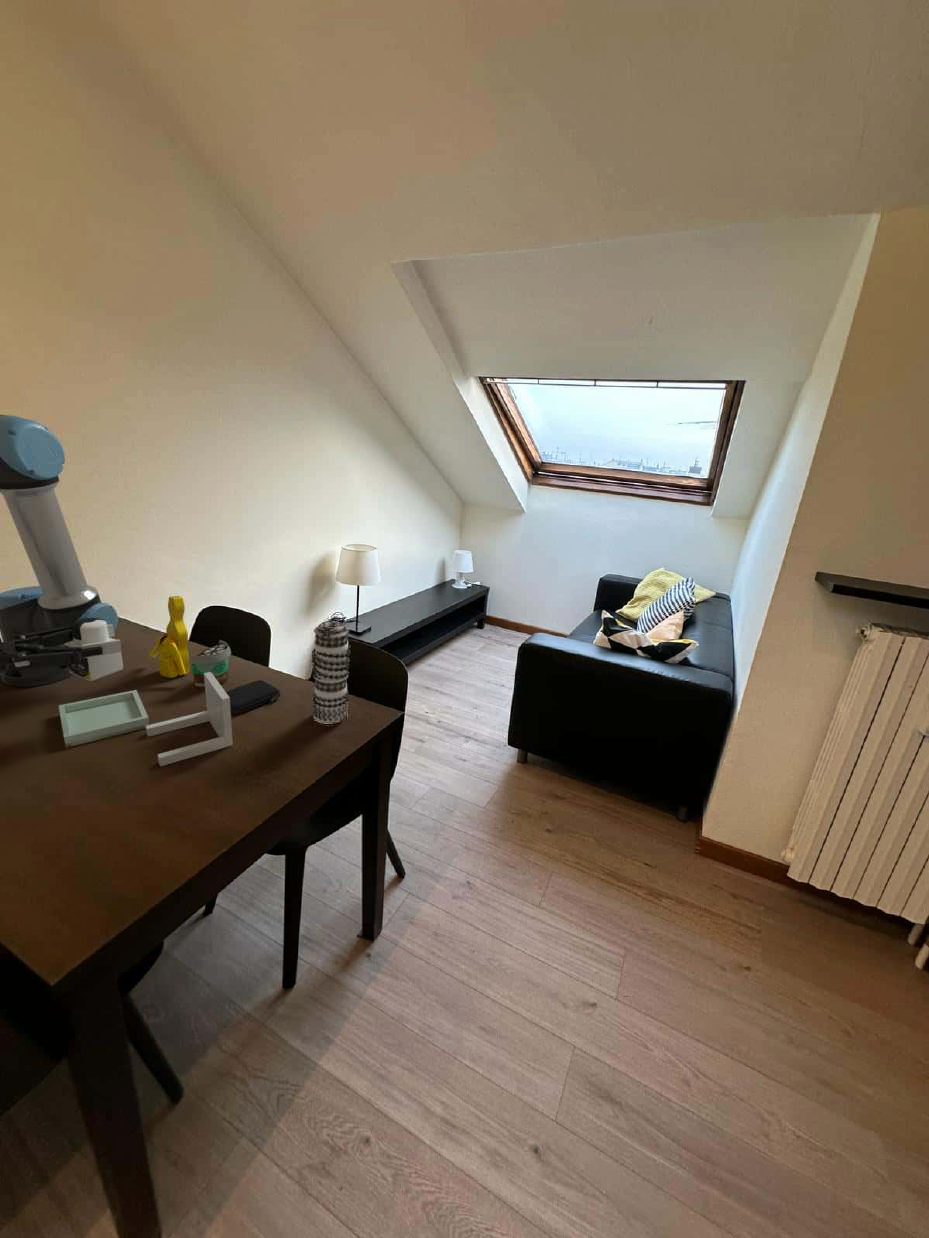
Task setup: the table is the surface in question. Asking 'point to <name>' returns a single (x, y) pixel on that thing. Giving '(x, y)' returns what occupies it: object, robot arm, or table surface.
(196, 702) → the table surface
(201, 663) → the food container
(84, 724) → the tray
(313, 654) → the decorative candle
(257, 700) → the carrying case or bag
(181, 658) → the figure statuette
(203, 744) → the bay
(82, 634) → the medicine bottle
